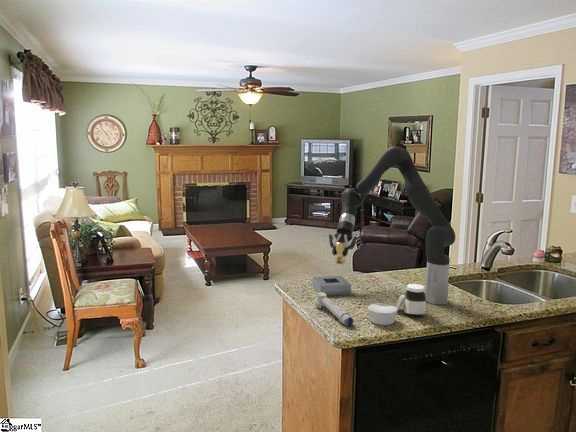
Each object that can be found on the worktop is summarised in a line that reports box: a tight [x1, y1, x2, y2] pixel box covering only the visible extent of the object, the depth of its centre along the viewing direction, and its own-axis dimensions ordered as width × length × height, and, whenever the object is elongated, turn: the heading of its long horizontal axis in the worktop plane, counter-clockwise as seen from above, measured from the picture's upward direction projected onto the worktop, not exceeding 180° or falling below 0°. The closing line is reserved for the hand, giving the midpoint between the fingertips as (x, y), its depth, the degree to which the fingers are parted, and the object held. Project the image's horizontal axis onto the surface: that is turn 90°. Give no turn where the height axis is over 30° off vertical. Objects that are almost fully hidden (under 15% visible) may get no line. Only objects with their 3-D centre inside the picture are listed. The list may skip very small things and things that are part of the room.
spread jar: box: [394, 283, 427, 318], centre depth 193 cm, size 12×11×12 cm
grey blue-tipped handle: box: [314, 292, 355, 327], centre depth 190 cm, size 5×7×25 cm
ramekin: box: [367, 302, 398, 326], centre depth 185 cm, size 11×11×5 cm
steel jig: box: [312, 275, 352, 296], centre depth 221 cm, size 14×14×4 cm
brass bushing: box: [334, 242, 346, 265], centre depth 223 cm, size 4×4×10 cm
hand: (339, 255), depth 221 cm, fingers closed on brass bushing, 4 cm apart
